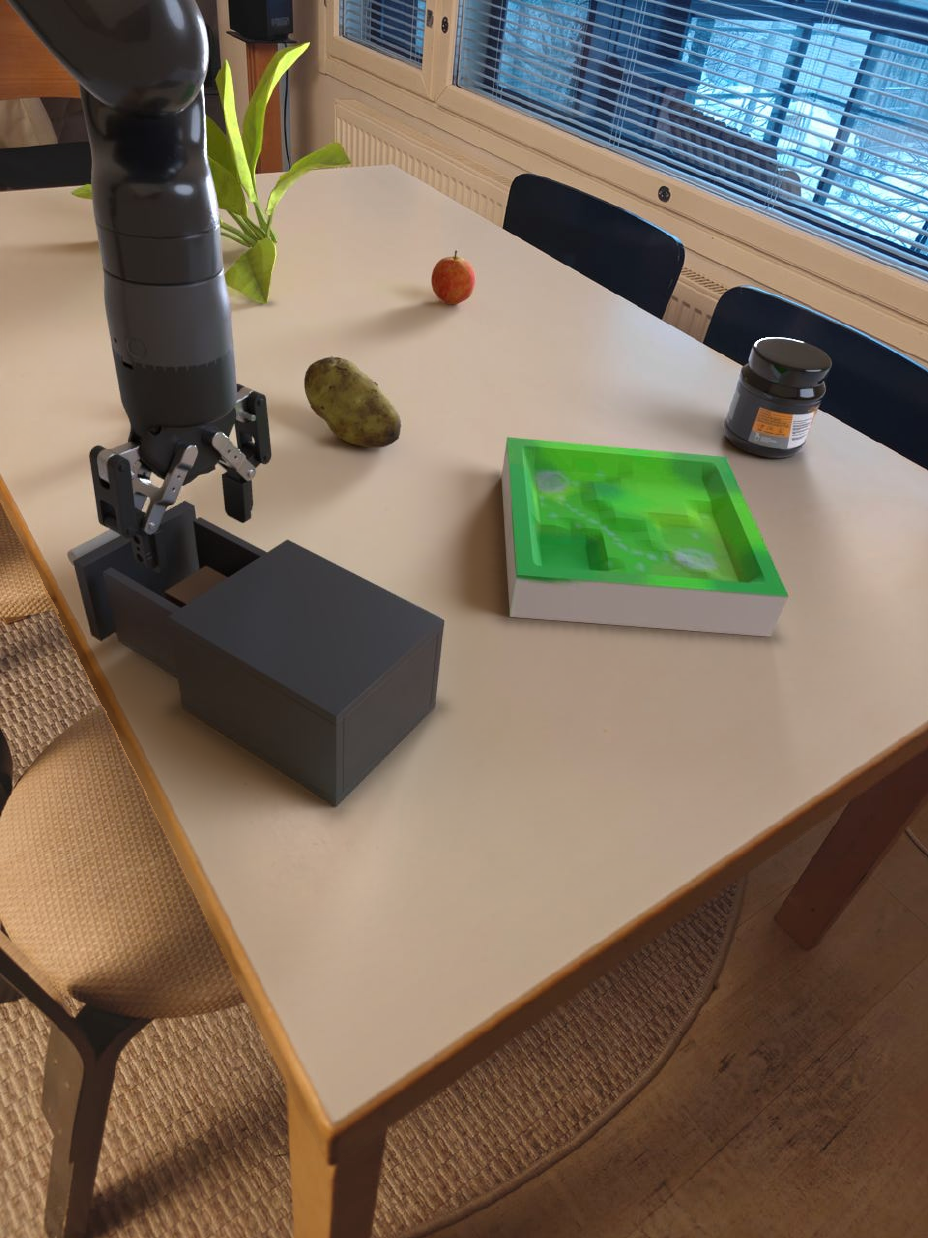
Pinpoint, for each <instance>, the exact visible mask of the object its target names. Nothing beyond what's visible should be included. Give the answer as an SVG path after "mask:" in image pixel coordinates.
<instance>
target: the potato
mask: <svg viewBox="0 0 928 1238" xmlns="http://www.w3.org/2000/svg"><path fill="white" fill-rule="evenodd" d="M303 381H304V383H303V385H304V386H303V387H304V392H305V397H306V399H307V401H308V403H309V405H310V408H311V409H312V410H313V412H314V413H315V414H316V415H317V416H319V418H320V419H322V420H324V421H325V422H326V424H327V426H328V428H329V430H330V431H331V433H332V434H334V436H336V437H337V438H339V439H341V440H343V441H345V442H346V443H349V444H351V445H355V446H360V447H363V448H383V447H386V446H389V445H392V444H393V443H395V442H396V441H397V440H399V439H400V435H401V429H402V420H401V417H400V415H399V413H398V410H397V409H396V408H395V406H394V404H393V403H392V402H391V401H390V400H389V398H388V397H387V396H386V395H385V393H383V391H382V389H381V388H380V387H379V384H378V383H377V382H376V381H374V380H373V379H372V378H371V377H370V376H369V375H368V374H366V373H364V372H363V371H362V370H361V369H360V368H359V367H358V366H357V365H356V364H354V363H353V362H352V361H350V360H348V359H346V358H343V357H338V356H337V357H336V356H332V355H331V356H328V357H324V358H321V359H318V360H316V361H314V362H313V363H311V364H310V365H309V366H308V368H307V369H306V371H305V375H304V379H303Z"/></svg>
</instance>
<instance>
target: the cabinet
mask: <svg viewBox="0 0 928 1238" xmlns="http://www.w3.org/2000/svg"><path fill="white" fill-rule="evenodd" d="M266 552H267V553H265V554H264V555H262V556H261V557H259V558H258V559H256V560H255V561H253V562H251V563H250V564H248V565H247V566H245V567H244V568H242V569H241V570H239V571H238V572H236V573H234V574H233V575H231V576H230V577H228V578H227V579H225V580H224V581H222V582H221V583H219V584H217V585H216V586H214V587H213V588H211V589H210V590H208V591H207V592H205V593H203V594H202V595H200V596H199V597H197V598H196V599H194V600H193V601H191V602H190V603H188V604H186V605H185V606H183V607H182V608H180V609H179V610H177V611H176V612H174V613H173V614H171V615H169V616H168V623H169V629H170V635H171V641H172V647H173V653H174V659H175V665H176V671H177V677H178V678H177V682H178V688H179V693H180V700H181V706H182V709H183V710H184V711H186V712H187V713H189V714H190V715H192V716H194V717H195V718H197V719H199V721H201V722H203V723H204V724H206V725H208V726H209V727H211V728H212V729H214V730H215V731H217V732H218V733H220V734H221V735H223V736H225V737H226V738H228V739H230V740H231V741H233V742H234V743H235V744H237V745H238V746H240V747H242V748H243V749H245V750H247V752H250V753H251V754H253V755H254V756H256V757H257V758H259V759H261V760H262V761H264V762H265V763H266V764H268V765H270V766H271V767H273V768H275V769H276V770H278V771H279V772H281V773H282V774H284V775H286V776H287V777H289V778H290V779H291V780H292V781H295V782H296V783H298V784H299V785H301V786H303V788H305V789H307V790H308V791H310V792H311V793H313V794H315V795H316V796H318V797H319V798H321V799H323V800H324V801H326V802H327V803H329V804H330V805H332V806H333V807H335V808H337V807H338V806H339V805H340V804H341V803H342V802H343V801H344V800H345V799H346V798H347V797H348V796H349V795H350V794H351V792H353V791H354V790H355V789H356V788H357V787H358V786H359V785H360V784H361V783H362V782H363V781H364V780H365V779H366V778H367V777H368V776H369V775H370V774H371V773H372V772H373V771H374V770H375V769H376V768H377V767H378V765H379V764H381V762H383V761H384V760H385V759H386V758H387V757H388V756H389V755H390V753H392V752H393V751H394V749H395V748H396V747H397V746H399V745H400V743H401V742H403V741H404V740H405V738H406V737H407V736H408V735H409V734H411V732H412V731H414V729H415V728H417V726H419V725H420V724H421V722H423V720H424V719H425V718H426V717H427V716H428V715H430V713H432V711H433V710H434V709H436V702H437V701H436V700H437V693H438V692H437V691H438V684H439V683H438V682H439V676H440V675H439V674H440V666H441V657H442V656H441V655H442V648H443V647H442V646H443V636H444V627H445V621H446V620H445V619H444V618H443V617H440V616H439V615H437V614H435V613H433V612H431V611H429V610H427V609H425V608H423V607H421V606H419V605H417V604H415V603H413V602H411V601H409V600H407V599H405V598H403V597H402V596H399V595H397V594H395V593H393V591H390V590H387V589H386V588H383V587H381V586H380V585H378V584H376V583H374V582H372V581H370V580H369V579H366V578H364V577H362V576H360V575H358V574H356V573H354V572H353V571H350V570H348V569H346V568H344V567H343V566H341V565H339V564H337V563H335V562H333V561H331V560H329V559H327V558H325V557H323V556H321V555H319V554H317V553H315V552H313V551H311V550H309V549H308V548H305V547H303V546H302V545H300V544H298V543H296V542H294V541H291V540H290V539H285V540H284V541H283V542H281V543H279V544H278V545H276V546H274V547H273V548H271V549H270V550H268V551H266Z"/></svg>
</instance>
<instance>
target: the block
mask: <svg viewBox="0 0 928 1238" xmlns="http://www.w3.org/2000/svg"><path fill="white" fill-rule="evenodd" d="M227 578H228V577H226V576H225V575H223V574H221V573H219V572H217V571H215V570H213V569H212V568H210V567H208V566H204V567H203V568H201V569H199V570H198V571H196V572H195V573H193V574H192V575H190V576H188V577H187V578H185V579H184V580H182V581H180V582H179V583H177V584H176V585H174V586H173V587H171V588H169V589H168V590H166V591H165V592H164V593H165V599H166V600H168V601H170V602H171V603H173V604H175V605H176V606H178V607H180V608H182V607H183V606H185V605H186V604H188V603H190V602H191V601H193V600H194V599H196V598H197V597H199V596H200V595H202V594H203V593H205V592H207V591H208V590H210V589H211V588H213V587H214V586H216V585H217V584H219V583H221V582H222V581H224V580H225V579H227Z"/></svg>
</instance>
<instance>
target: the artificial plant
mask: <svg viewBox="0 0 928 1238" xmlns="http://www.w3.org/2000/svg"><path fill="white" fill-rule="evenodd" d="M310 43H311V42H310V41H308V42H304V43H301V44H298V45H295V46H287V47H284V48H283V49H280V50H278V51H276V52H275V54H274V55H273V56H272V58H271V59H270V61H269V62H268V63H267V65H266V68H265V69H264V72H263V73H262V75H261V78H260V80H259V81H258V84H257V86H256V87H255V90H254V92H253V94H252V96H251V98H250V99H249V101H248V105H247V108H246V111H245V113H244V117H243V120H242V124H241V131H240V128H239V124H238V117H237V113H236V106H235V95H234V86H233V79H232V71H231V68H230V65H229V61H228V60H227V59H225V60H224V62H223V65H222V67H221V68H220V69H219V70H218V72H217V74H216V77H215V80H214V81H215V83H216V87H217V91H218V94H219V98H220V103H221V107H222V111H223V113H224V119H225V120H224V122H225V126H226V132H227V135H228V137H227V135H226V134H225V133H224V131H223V130H222V129H221V128H220V127H219V126H218V125H217V123H216V122H215V121H214V120H213V119H212V118H210V116H208V115H207V114H205V120H206V140H207V155H208V162H209V167H210V171H211V175H212V178H213V182H214V187H215V192H216V197H217V203H218V209H219V210H225V211H226V212H227V213H228V214H229V215H230V216H231V217H232V219H233V220H234V221H235V223H236V224H237V225H238V226H239V228H240V230H239V229H238V228H235V227H234V226H232V225H230V224H228V223H226V222H224V221H223V218H222V217H221V215H220V214H219V219H220V220H219V221H220V229H223V230H225V231H227V232H224V231H221V236H223V237H226V238H229V239H231V240H233V241H234V242H237V243H238V244H240V245H242V246H245V247H247V248H249V249H248V250H246V251H245V252H244V253H243V254H241V255H240V256H239V257H238V258H237V259H236V260H235V261H234V263H233V264H232V265H231V266H230V267H229V268H228V269H227V271H225V272H224V276H225V281H226V285H227V287H229V288H231V289H232V290H235V291H237V292H239V293H241V294H243V295H244V296H245V297H247V298H249V299H251V300H252V301H255V302H258V303H260V304H264V305H266V304H267V303H268V301H269V295H270V288H271V284H272V283H271V282H272V273H273V271H274V266H275V262H276V260H277V259H276V258H277V247H276V244H277V243H278V241H279V237H278V235H277V233H276V231H275V229H273V227H272V221H273V216H274V213H275V211H276V208H277V206H278V204H279V202H280V201H281V199H282V198H283V196H284V195H285V193H286V192H287V190H288V189H289V188H290V187H291V186H292V185H293V184H294V183H295V182H296V181H297V180H298V179H300V178H301V177H303V176H304V175H306V174H308V173H310V172H311V171H315V170H317V169H325V168H341V167H350V166H351V165H352V161H351V160H350V157H349V156H348V154H347V152H346V150H345V148H344V147H343V146H342V144H341V143H340V142H339V141H333V142H330V143H328V144H326V145H325V146H323V147H320V148H319V149H316V150H315V151H313V152H310V153H309V154H307V155H305V156H303V157H301V158H300V159H299V160H297V161H296V162H295V163H293V164H292V166H291V167H290V169H289V170H288V171H287V172H284V173H283V174H282V175H279V178H278V179H277V182H276V184H275V186H274V187H273V189H272V190H271V192H270V194H269V197H268V199H267V204H266V207H265V209H264V212H263V210H262V208H261V206H260V201H259V196H258V188H257V181H256V169H257V163H258V160H259V158H260V154H261V152H262V148H263V145H262V144H263V136H264V124H265V113H266V109H267V105H268V102H269V100H270V98H271V95H272V94H273V91H274V89H275V87H276V86H277V84H278V83H279V81H280V79H281V78H282V76H283V75H284V74H285V73H286V72H287V71H288V69H289V68H290V67H291V66H292V65H293V64H294V63H295V62H296V60H297V59H298V58H299V57H300V56H302V54H304V52H305V51H306V50H307V49H308V48H309V46H310ZM228 139H229V140H228ZM244 192H245V193H244ZM70 194H71V195H73V196H75V197H77V198H80V199H85V200H92V188H91V183H86V184H84V185H82V186H79V187H78V188H76V189H73V190H72V191H71V192H70ZM245 194H246V196H247V198H248V201H249V202H250V203H253V206H254V209H255V213H256V218H257V220H258V225H257V223H255V222H254V221H253V220H252V219H251V218H250V217H249V210H248V209H249V207H248V203H247V200H246V196H245ZM264 214H265V215H267V219H266V217H265V215H264ZM228 232H229V233H228Z"/></svg>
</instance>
